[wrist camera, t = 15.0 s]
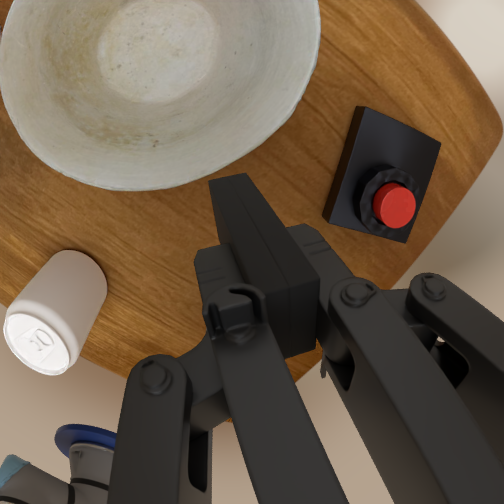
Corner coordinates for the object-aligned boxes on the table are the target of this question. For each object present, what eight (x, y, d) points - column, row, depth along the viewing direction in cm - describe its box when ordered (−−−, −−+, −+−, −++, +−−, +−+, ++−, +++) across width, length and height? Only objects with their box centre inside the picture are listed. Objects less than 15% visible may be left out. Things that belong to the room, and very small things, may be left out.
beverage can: (37, 271, 32) (-12, 331, 21) (75, 233, 30) (22, 292, 19) (81, 318, 35) (47, 387, 24) (122, 287, 34) (91, 361, 23)
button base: (396, 236, 34) (413, 250, 31) (321, 215, 32) (334, 230, 29) (430, 140, 30) (451, 145, 26) (356, 106, 28) (374, 106, 24)
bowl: (322, -20, 21) (361, -61, 12) (251, 192, 31) (265, 230, 22) (100, -58, 16) (66, -99, 7) (34, 145, 26) (-24, 165, 17)
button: (398, 225, 30) (406, 232, 28) (366, 216, 29) (374, 222, 27) (412, 189, 28) (421, 194, 27) (380, 177, 27) (389, 182, 26)
